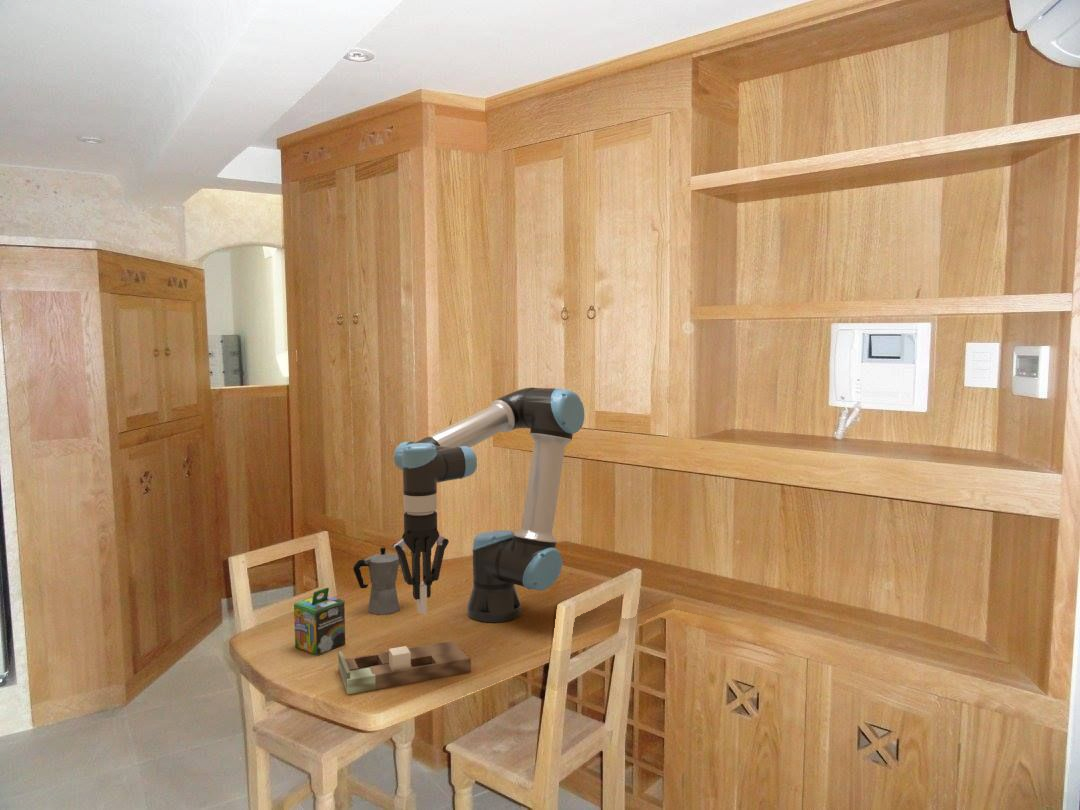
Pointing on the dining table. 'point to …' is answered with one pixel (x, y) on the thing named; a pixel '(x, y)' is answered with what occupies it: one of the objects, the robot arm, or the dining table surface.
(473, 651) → the dining table surface
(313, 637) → the chalk box
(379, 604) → the coffeepot
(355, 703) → the dining table surface
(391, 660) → the ivory block
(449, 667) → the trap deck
